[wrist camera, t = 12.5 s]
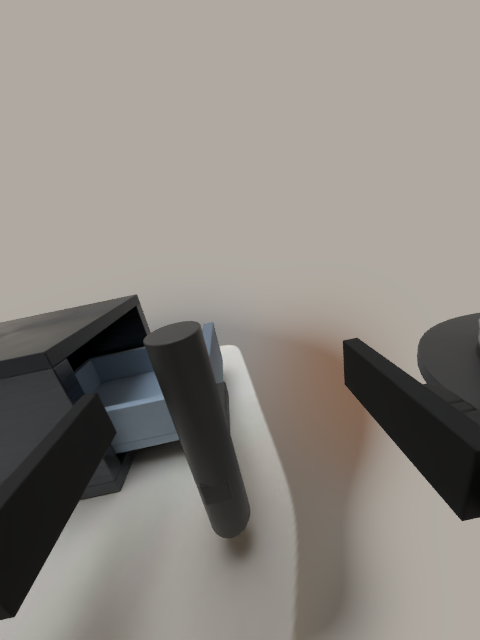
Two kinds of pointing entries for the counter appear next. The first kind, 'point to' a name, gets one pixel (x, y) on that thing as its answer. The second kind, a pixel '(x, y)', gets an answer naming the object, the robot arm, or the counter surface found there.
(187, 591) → the counter surface
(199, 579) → the counter surface
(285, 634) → the counter surface
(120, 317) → the drawer box
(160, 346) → the blue-grey drawer tray
